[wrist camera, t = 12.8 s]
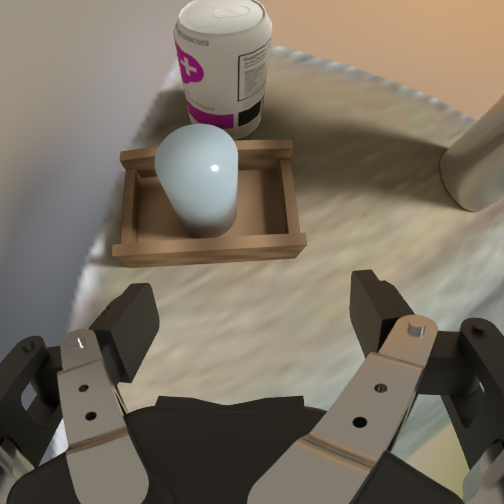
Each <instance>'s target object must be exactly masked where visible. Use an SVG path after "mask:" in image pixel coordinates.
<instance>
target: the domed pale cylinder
mask: <svg viewBox="0 0 504 504" xmlns="http://www.w3.org/2000/svg"><path fill="white" fill-rule="evenodd" d="M154 164H155V171H156V174H157V176H158V178H159V180H160V182H161V184H162V186H163V188H164V191H165V193H166V195H167V197H168V199H169V201H170V203H171V205H172V207H173V209H174V211H175V213H176V215H177V217H178V219H179V221H180V223H181V225H182V226H183V228H184V229H185V230H186V231H187V232H188V233H189V234H191V235H192V236H194V237H197V238H200V239H201V238H217V237H219V236H221V235H223V234H225V233H226V232H227V231H228V230H229V229H230V228H231V227H232V226H233V224H234V222H235V220H236V216H237V185H238V151H237V147H236V144H235V142H234V141H233V139H232V138H231V137H230V135H229V134H227V133H226V132H225V131H224V130H222V129H220V128H218V127H216V126H213V125H209V124H192V125H187V126H184V127H181V128H179V129H177V130H175V131H173V132H172V133H170V134H169V135H168V136H167V137H166V138H165V139H164V140H163V141H162V143H161V144H160V145H159V147H158V149H157V152H156V155H155V162H154Z"/></svg>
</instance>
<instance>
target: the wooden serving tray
mask: <svg viewBox="0 0 504 504" xmlns="http://www.w3.org/2000/svg"><path fill="white" fill-rule="evenodd" d="M234 142H235V144H236V147H237V151H238V185H237V216H236V220H235V222H234V224H233V226H232V227H231V228H230V229H229V230H228V231H227V232H226V233H225V234H223V235H221V236H219V237H217V238H201V239H200V238H197V237H194V236H192V235H191V234H189V233H188V232H187V231H186V230H185V229H184V228H183V226H182V225H181V223H180V221H179V219H178V217H177V215H176V213H175V211H174V209H173V207H172V205H171V203H170V201H169V199H168V197H167V195H166V193H165V191H164V188H163V186H162V184H161V182H160V180H159V178H158V176H157V174H156V171H155V164H154V162H155V155H156V152H157V149H158V147H152V148H144V149H136V150H129V151H122V152H121V154H120V162H121V164H122V165H123V167H124V168H125V170H126V176H125V186H124V198H123V212H122V229H121V244H113V245H112V256H113V257H114V258H116V259H118V260H119V261H121V262H123V263H124V264H126V265H128V266H130V267H131V268H136V267H155V266H173V265H191V264H209V263H226V262H243V261H260V260H276V259H292V258H296V257H297V256H298V255H299V253H300V252H301V251H302V250H303V249H304V248H305V246H306V245H307V241H306V233H300V228H299V220H298V212H297V204H296V196H295V188H294V181H293V173H292V166H291V156H292V153H293V149H294V146H293V140H292V139H273V140H239V141H234Z"/></svg>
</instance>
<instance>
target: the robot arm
mask: <svg viewBox="0 0 504 504" xmlns="http://www.w3.org/2000/svg"><path fill="white" fill-rule="evenodd" d="M440 172H441V176H442V179H443V182H444V185H445V187H446V189H447V190H448V192H449V194H450V195H451V196H452V198H453V199H454V200H455V201H456V202H457V203H458V204H459V205H460V206H461V207H463V208H465V209H466V210H469V211H472V212H478V211H480V210H483V209H484V208H486V207H488V206H490V205H491V204H493V203H495V202H497V201H498V200H500V199H502V198H504V95H503V96H502V97H501V98H500V99H499V101H498V102H497V103H496V104H495V105H494V106H493V107H492V108H491V109H490V110H489V111H488V112H487V113H486V114H485V115H484V116H482V117H481V118H480V120H478V121H477V122H476V123H475V124H474V125H473V126H472V127H471V128H470V129H469V130H468V131H467V132H466V133H465V134H464V135H463V136H462V137H461V138H460V139H459V140H458V141H457V142H455V143H454V144H453V145H452V146H451V147H450V148H449V149H448V150H447V151H446V152H445V153H444V154H443V155H442V158H441V161H440ZM350 319H351V322H352V325H353V328H354V330H355V333H356V335H357V338H358V340H359V343H360V345H361V348H362V351H363V353H364V356H365V361H364V362H363V363H362V365H361V366H360V368H359V369H358V371H357V372H356V374H355V375H354V376H353V378H352V379H351V381H350V382H349V383H348V385H347V386H346V387H345V389H344V390H343V392H342V393H341V394H340V396H339V397H338V398H337V400H336V401H335V402H334V403H333V405H332V406H331V407H330V409H329V410H328V411H325V410H322V409H318V408H313V407H307V406H304V399H303V396H293V397H275V398H263V399H259V400H254V401H249V402H244V403H239V404H234V405H221V404H216V403H212V402H207V401H203V400H199V399H195V398H185V397H168V396H159V397H158V399H157V402H156V404H155V406H150V407H145V408H141V409H138V410H135V411H133V412H130V413H129V412H128V410H127V408H126V405H125V403H124V401H123V398H122V396H121V393H120V391H119V389H118V387H117V384H118V383H119V382H124V383H132V381H133V379H134V377H135V375H136V373H137V371H138V369H139V367H140V365H141V363H142V361H143V359H144V357H145V355H146V353H147V351H148V349H149V348H150V346H151V344H152V342H153V340H154V338H155V336H156V334H157V332H158V330H159V315H158V311H157V307H156V303H155V299H154V295H153V291H152V288H151V286H150V284H149V283H136V284H130V285H129V287H128V288H127V289H126V290H125V291H124V292H123V294H122V295H120V296H119V297H117V298H116V299H114V300H113V301H111V303H110V304H109V305H108V306H107V307H106V309H105V310H104V311H103V312H102V313H101V315H99V317H98V318H97V319H96V320H95V321H94V323H93V324H92V325H91V326H90V327H89V329H80V330H76V331H73V332H71V333H69V334H68V335H66V336H65V337H64V338H63V339H62V341H61V343H60V346H56V347H49V348H47V347H46V345H45V343H44V341H43V338H42V337H39V336H31V337H28V338H25V339H23V340H22V341H20V342H19V343H18V344H17V345H16V346H15V347H14V348H13V349H12V350H11V352H10V353H9V354H8V355H7V356H6V357H5V358H4V360H3V361H2V362H1V363H0V504H504V336H503V335H502V333H501V332H500V331H499V330H498V329H497V327H496V326H495V325H494V324H493V323H491V322H489V321H487V320H485V319H481V318H469V319H466V320H464V321H463V322H462V324H461V327H460V331H459V332H449V331H438V327H437V325H436V324H435V322H434V321H432V320H431V319H429V318H427V317H424V316H421V315H415V314H414V312H413V311H412V309H411V308H410V307H409V305H408V304H407V303H406V301H405V300H403V297H402V296H401V294H399V292H398V290H397V289H396V288H395V286H393V285H392V284H390V283H388V282H387V281H385V280H384V281H379V279H378V278H377V276H376V275H375V274H374V272H373V271H372V270H359V271H353V272H352V275H351V292H350ZM29 382H30V383H31V385H32V387H33V388H34V390H35V392H36V393H37V396H36V397H35V399H34V400H33V402H32V403H31V405H30V406H29V408H28V410H27V411H26V410H25V409H24V407H23V406H22V403H21V394H22V392H23V391H24V389H25V388H26V386H27V385H28V384H29ZM480 382H481V383H482V385H483V388H484V392H485V393H484V392H483V390H482V388H481V386H480V385H479V383H480ZM419 394H427V395H440V396H441V398H442V400H443V403H444V405H445V407H446V410H447V412H448V414H449V417H450V419H451V422H452V424H453V427H454V429H455V432H456V434H457V437H458V439H459V442H460V445H461V447H462V450H463V452H464V455H465V458H466V461H467V464H468V467H469V469H470V471H469V473H468V474H467V475H466V477H465V479H464V482H463V495H464V496H463V500H462V499H461V498H460V497H459V496H458V495H456V494H455V493H453V492H452V491H450V490H449V489H447V488H445V487H444V486H442V485H440V484H439V483H437V482H435V481H434V480H432V479H431V478H429V477H427V476H426V475H424V474H423V473H421V472H420V471H418V470H416V469H415V468H413V467H412V466H410V465H409V464H407V463H406V462H404V461H403V460H401V459H400V458H398V457H397V456H395V455H394V454H392V451H393V449H394V447H395V445H396V443H397V441H398V439H399V437H400V435H401V433H402V430H403V428H404V426H405V424H406V422H407V420H408V418H409V416H410V413H411V411H412V409H413V407H414V404H415V402H416V400H417V397H418V395H419ZM62 418H63V420H64V425H65V430H66V435H67V440H68V446H69V447H68V449H67V450H66V451H65V452H63V453H62V454H60V455H58V456H57V457H55V458H53V459H51V460H50V461H48V462H46V463H44V464H42V465H41V466H39V467H38V465H39V463H40V461H41V459H42V457H43V455H44V453H45V451H46V449H47V447H48V445H49V443H50V441H51V439H52V437H53V435H54V433H55V431H56V429H57V428H58V426H59V424H60V422H61V420H62Z"/></svg>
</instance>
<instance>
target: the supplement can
mask: <svg viewBox="0 0 504 504" xmlns="http://www.w3.org/2000/svg"><path fill="white" fill-rule="evenodd" d="M178 17H179V18H178V20H177V22H176V25H175V27H174V30H173V34H174V39H175V45H176V50H177V56H178V61H179V66H180V72H181V77H182V82H183V87H184V92H185V97H186V102H187V107H188V112H189V117H190V121H191V124H209V125H213V126H216V127H218V128H220V129H222V130H224V131H225V132H226V133H227V134H229V135H230V137H231V138H232V139H233V141H236V140H239V139H241V138H244V137H246V136H248V135H249V134H251V133H252V132H253V131H254V130H255V129H257V127H258V125H259V123H260V121H261V118H262V110H263V102H264V93H265V85H266V77H267V69H268V61H269V52H270V44H271V36H272V22H271V20H270V19H269V17H268V15H267V14H266V9H265V8H264V6H263V5H262V4H261V3H260V2H258V1H256V0H194V1H192V2H190V3H188V4H187V5H186V6H185V7H183V9H181V11H180V14H179V16H178Z"/></svg>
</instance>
